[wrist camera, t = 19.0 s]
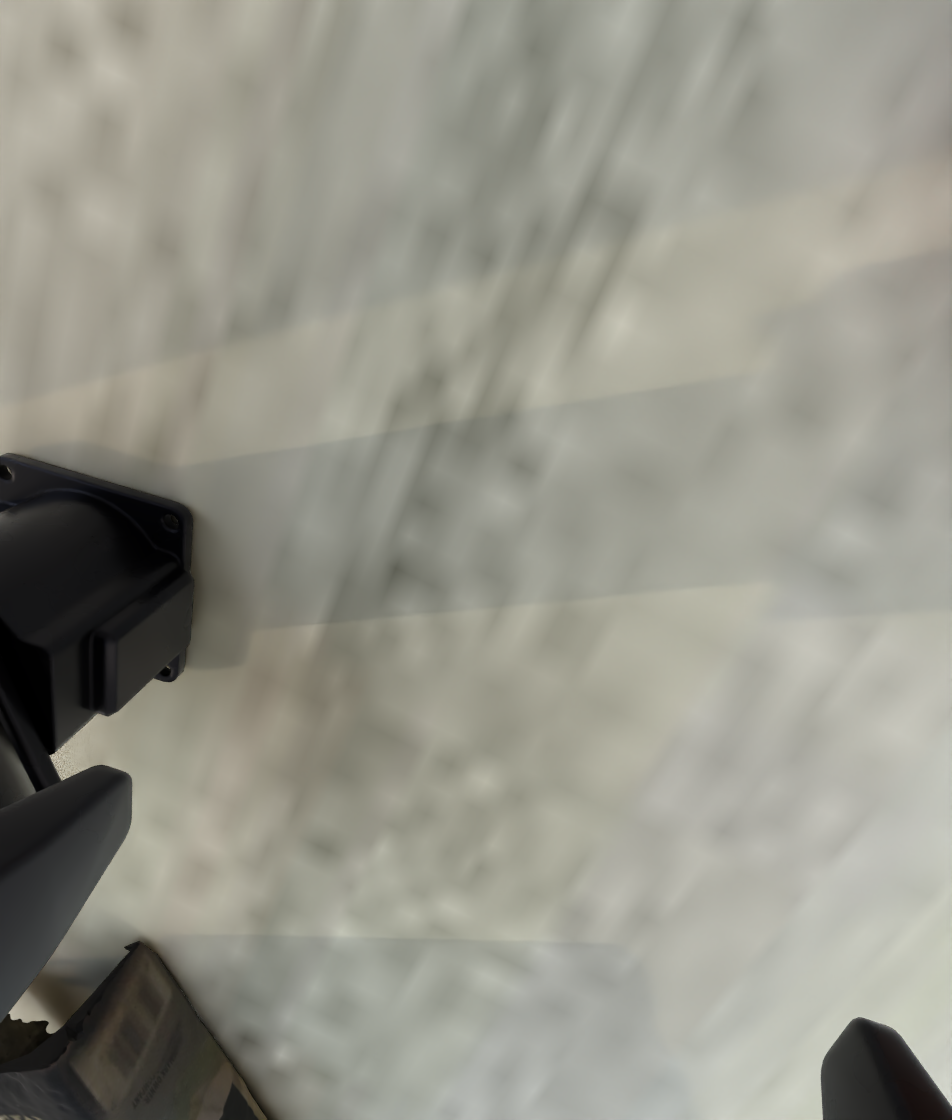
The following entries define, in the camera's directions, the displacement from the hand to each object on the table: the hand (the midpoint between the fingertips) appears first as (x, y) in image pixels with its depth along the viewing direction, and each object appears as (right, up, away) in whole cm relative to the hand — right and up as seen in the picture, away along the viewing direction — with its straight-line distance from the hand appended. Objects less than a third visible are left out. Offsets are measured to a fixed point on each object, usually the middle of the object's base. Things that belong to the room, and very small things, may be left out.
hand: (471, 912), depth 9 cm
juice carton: (-15, -21, +28) cm, 38 cm away
